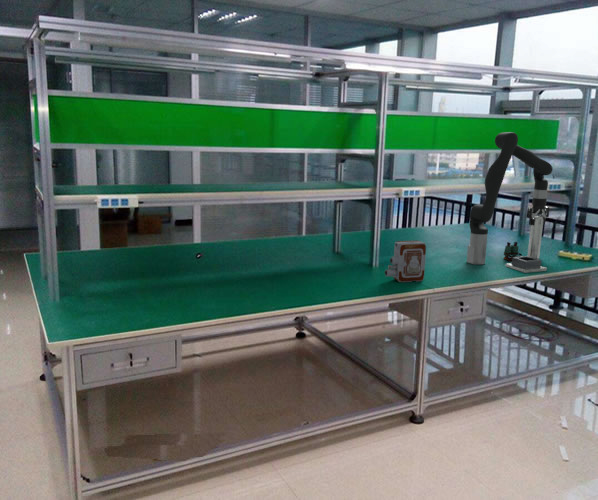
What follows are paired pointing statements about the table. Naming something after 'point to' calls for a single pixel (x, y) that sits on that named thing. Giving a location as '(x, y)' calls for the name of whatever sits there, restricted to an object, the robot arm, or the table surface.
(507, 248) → the binoculars
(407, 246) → the cine camera
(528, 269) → the mount
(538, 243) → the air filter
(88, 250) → the table surface
